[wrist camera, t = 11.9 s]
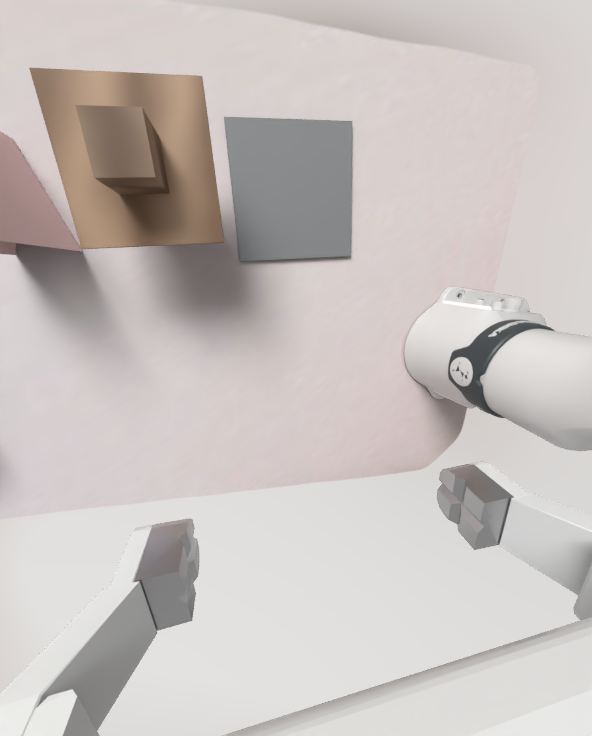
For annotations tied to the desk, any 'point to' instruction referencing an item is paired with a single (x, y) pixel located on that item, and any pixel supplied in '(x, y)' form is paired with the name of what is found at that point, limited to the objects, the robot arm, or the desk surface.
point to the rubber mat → (290, 187)
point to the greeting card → (27, 206)
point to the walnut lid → (132, 156)
